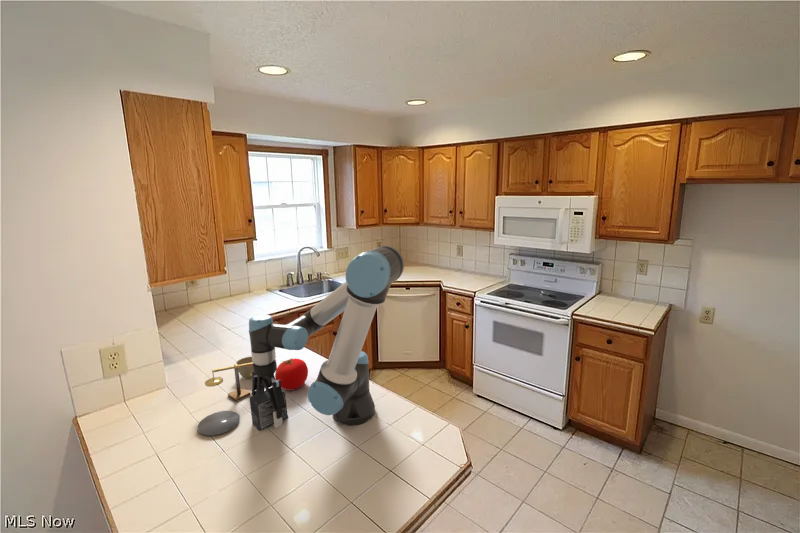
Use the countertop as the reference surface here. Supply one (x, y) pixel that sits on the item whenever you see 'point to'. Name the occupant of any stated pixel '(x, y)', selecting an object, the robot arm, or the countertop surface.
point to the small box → (264, 410)
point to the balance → (240, 392)
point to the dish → (218, 423)
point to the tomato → (292, 374)
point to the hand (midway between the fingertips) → (270, 420)
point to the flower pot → (247, 369)
